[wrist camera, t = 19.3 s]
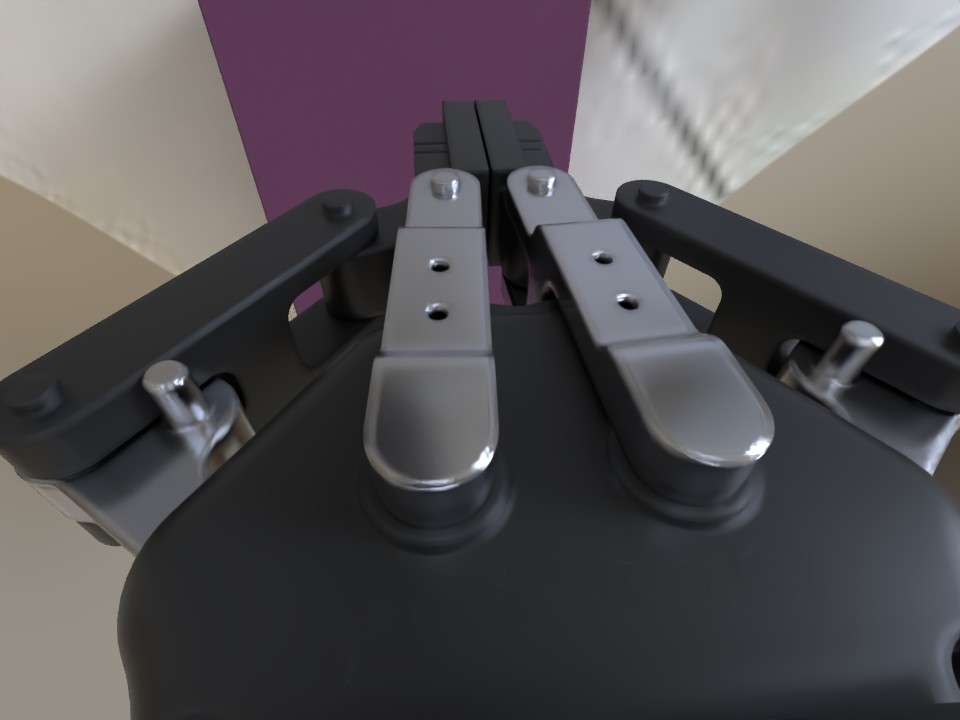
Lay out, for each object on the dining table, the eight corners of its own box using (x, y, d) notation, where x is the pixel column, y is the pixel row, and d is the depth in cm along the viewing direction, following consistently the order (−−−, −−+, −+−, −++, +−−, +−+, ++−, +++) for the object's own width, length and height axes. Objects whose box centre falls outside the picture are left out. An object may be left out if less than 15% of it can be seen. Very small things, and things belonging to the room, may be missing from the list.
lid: (197, -26, 17) (190, -21, 16) (589, -30, 18) (595, -25, 17) (307, 331, 28) (305, 342, 27) (544, 318, 29) (547, 328, 28)
